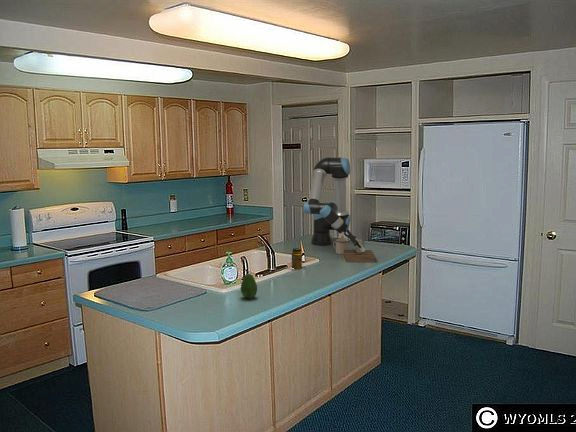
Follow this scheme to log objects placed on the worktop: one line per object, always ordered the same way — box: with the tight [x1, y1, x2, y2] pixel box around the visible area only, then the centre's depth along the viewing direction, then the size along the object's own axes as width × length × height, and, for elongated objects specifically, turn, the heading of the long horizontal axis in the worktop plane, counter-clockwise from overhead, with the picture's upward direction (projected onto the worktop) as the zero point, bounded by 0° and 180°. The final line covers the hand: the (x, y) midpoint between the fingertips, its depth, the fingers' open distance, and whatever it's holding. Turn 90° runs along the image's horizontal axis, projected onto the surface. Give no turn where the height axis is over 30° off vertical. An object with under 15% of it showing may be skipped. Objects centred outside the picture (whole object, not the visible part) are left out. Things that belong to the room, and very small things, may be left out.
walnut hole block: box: [343, 249, 376, 263], centre depth 331 cm, size 16×18×4 cm
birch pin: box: [355, 238, 363, 253], centre depth 330 cm, size 4×4×13 cm
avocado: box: [240, 273, 258, 299], centre depth 249 cm, size 8×8×12 cm
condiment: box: [291, 247, 305, 271], centre depth 306 cm, size 7×8×12 cm
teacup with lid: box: [332, 235, 350, 255], centre depth 349 cm, size 12×9×12 cm
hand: (362, 248), depth 330 cm, fingers open, 13 cm apart
